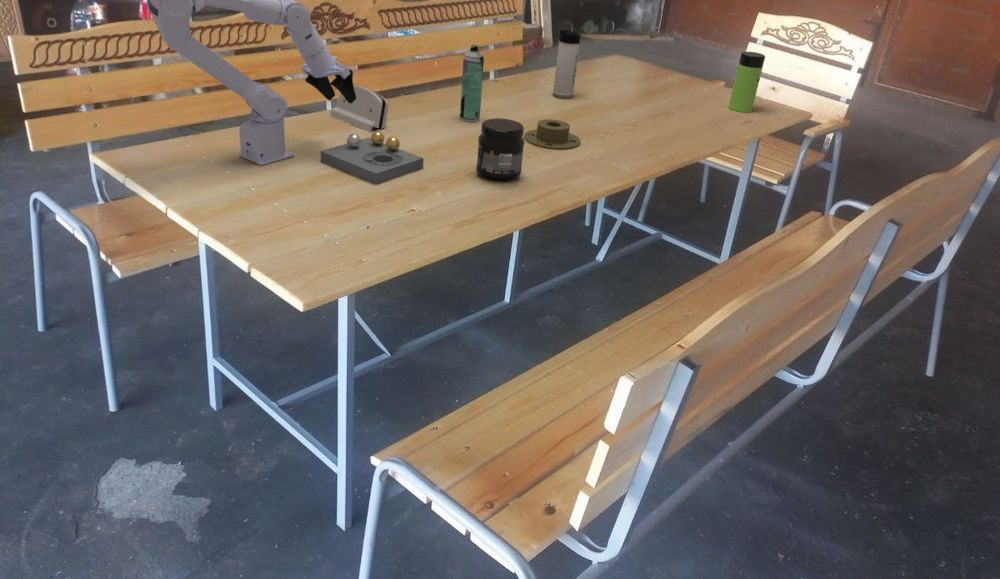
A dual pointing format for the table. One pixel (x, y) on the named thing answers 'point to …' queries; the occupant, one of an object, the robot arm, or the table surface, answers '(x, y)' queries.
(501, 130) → the supplement container
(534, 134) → the flange
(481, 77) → the spray can
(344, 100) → the grey rounded bracket
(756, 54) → the tumbler
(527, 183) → the table surface
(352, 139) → the ball
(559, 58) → the travel mug
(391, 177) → the plate
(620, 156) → the table surface
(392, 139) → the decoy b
